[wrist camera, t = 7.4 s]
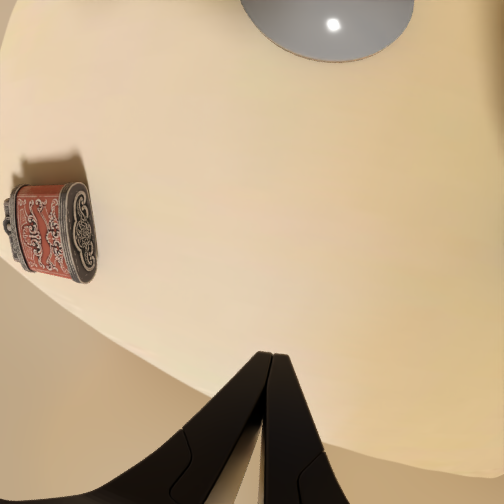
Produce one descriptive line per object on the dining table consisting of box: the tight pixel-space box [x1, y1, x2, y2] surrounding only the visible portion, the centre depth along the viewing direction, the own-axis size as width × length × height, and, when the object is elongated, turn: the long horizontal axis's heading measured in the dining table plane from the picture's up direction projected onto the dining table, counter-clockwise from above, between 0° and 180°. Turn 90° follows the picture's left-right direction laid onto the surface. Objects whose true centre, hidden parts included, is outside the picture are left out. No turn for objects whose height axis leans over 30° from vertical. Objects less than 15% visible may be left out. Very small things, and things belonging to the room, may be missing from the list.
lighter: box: [3, 182, 97, 284], centre depth 23 cm, size 8×3×10 cm
